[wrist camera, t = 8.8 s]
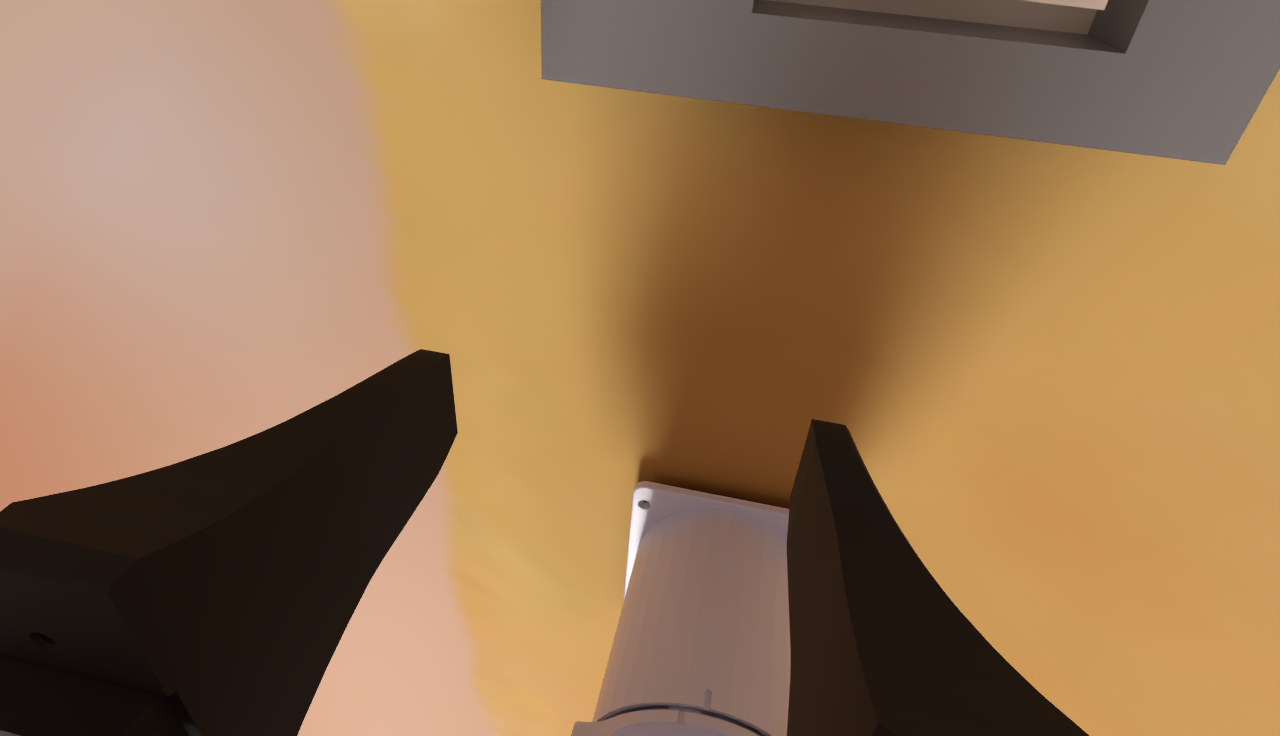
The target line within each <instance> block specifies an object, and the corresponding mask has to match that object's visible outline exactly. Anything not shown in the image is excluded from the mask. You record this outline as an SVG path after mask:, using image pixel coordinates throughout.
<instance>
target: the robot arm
mask: <svg viewBox="0 0 1280 736" xmlns="http://www.w3.org/2000/svg"><path fill="white" fill-rule="evenodd" d="M457 433H458V432H457V423H456V413H455V404H454V394H453V385H452V375H451V366H450V356H449V354H445V353H439V352H434V351H428V350H422V349H420V350H418V351H416V352H414V353H412V354H410V355H408V356H406V357H405V358H403V359H401V360H399V361H397V362H396V363H394V364H392V365H390V366H388V367H387V368H385V369H383V370H382V371H380V372H378V373H376V374H374V375H373V376H371V377H369V378H367V379H366V380H364V381H362V382H360V383H358V384H356V385H355V386H353V387H351V388H349V389H347V390H346V391H344V392H342V393H340V394H339V395H337V396H335V397H333V398H331V399H329V400H327V401H325V402H323V403H321V404H319V405H317V406H315V407H313V408H311V409H309V410H307V411H305V412H303V413H301V414H299V415H297V416H295V417H293V418H291V419H289V420H287V421H285V422H283V423H281V424H279V425H276V426H274V427H272V428H270V429H267V430H265V431H263V432H261V433H258V434H256V435H253V436H251V437H248V438H246V439H243V440H241V441H238V442H236V443H233V444H231V445H228V446H225V447H223V448H220V449H217V450H214V451H211V452H208V453H205V454H202V455H199V456H196V457H193V458H191V459H188V460H185V461H182V462H179V463H176V464H173V465H170V466H166V467H163V468H160V469H156V470H153V471H149V472H146V473H142V474H139V475H135V476H131V477H128V478H124V479H120V480H117V481H112V482H109V483H104V484H100V485H96V486H91V487H87V488H83V489H78V490H73V491H68V492H63V493H58V494H53V495H49V496H44V497H39V498H34V499H29V500H23V501H18V502H13V503H11V504H10V505H8V506H7V507H6V508H4V509H3V510H2V511H1V512H0V736H297V735H298V732H299V730H300V727H301V725H302V722H303V720H304V718H305V715H306V713H307V711H308V709H309V706H310V704H311V702H312V700H313V697H314V695H315V693H316V690H317V688H318V686H319V684H320V682H321V679H322V677H323V675H324V672H325V670H326V668H327V666H328V664H329V662H330V660H331V658H332V655H333V653H334V651H335V649H336V647H337V645H338V643H339V641H340V639H341V637H342V635H343V633H344V631H345V629H346V627H347V624H348V622H349V620H350V619H351V617H352V615H353V613H354V610H355V609H356V607H357V605H358V603H359V601H360V599H361V597H362V595H363V593H364V591H365V589H366V587H367V585H368V583H369V582H370V580H371V578H372V576H373V575H374V573H375V571H376V570H377V568H378V566H379V565H380V563H381V561H382V560H383V558H384V557H385V555H386V554H387V552H388V551H389V549H390V547H391V546H392V544H393V543H394V541H395V540H396V538H397V537H398V535H399V534H400V532H401V531H402V529H403V528H404V526H405V525H406V523H407V521H408V520H409V519H410V517H411V516H412V514H413V513H414V511H415V509H416V508H417V506H418V505H419V503H420V502H421V500H422V499H423V497H424V496H425V494H426V493H427V491H428V489H429V488H430V486H431V485H432V483H433V482H434V480H435V478H436V477H437V475H438V473H439V471H440V469H441V467H442V465H443V463H444V461H445V459H446V457H447V455H448V453H449V451H450V448H451V446H452V444H453V442H454V439H455V437H456V435H457ZM642 500H645V501H648V502H649V503H645V502H643V501H642ZM571 736H1089V735H1088V734H1087V733H1086V732H1084V731H1083V730H1082V729H1081V728H1080V727H1079V726H1077V725H1076V724H1075V723H1074V722H1073V721H1072V720H1070V719H1069V718H1068V717H1067V716H1066V715H1065V714H1063V713H1062V712H1061V711H1060V710H1059V709H1058V708H1056V707H1055V706H1054V705H1053V704H1052V703H1051V702H1049V701H1048V700H1047V699H1046V698H1045V697H1044V696H1043V695H1041V694H1040V693H1039V692H1038V691H1037V690H1036V689H1035V688H1034V687H1033V686H1032V685H1031V684H1030V683H1029V682H1028V681H1027V680H1026V679H1025V678H1024V677H1023V676H1021V675H1020V674H1019V673H1018V672H1017V671H1016V670H1015V669H1014V668H1013V667H1012V666H1011V665H1010V664H1009V663H1008V662H1007V661H1006V660H1005V659H1004V658H1003V657H1002V656H1001V655H1000V654H999V653H998V652H997V651H996V650H995V649H994V648H993V647H992V646H991V645H990V644H989V642H988V641H987V640H986V639H985V638H984V637H983V636H982V635H981V634H980V633H979V631H978V630H977V629H976V628H975V627H974V626H973V625H972V624H971V623H970V622H969V620H968V619H967V618H966V617H965V616H964V615H963V614H962V613H961V612H960V610H959V609H958V608H957V607H956V606H955V605H954V603H953V602H952V601H951V600H950V598H949V597H948V596H947V595H946V594H945V592H944V591H943V590H942V588H941V587H940V586H939V584H938V583H937V582H936V580H935V579H934V578H933V577H932V575H931V574H930V573H929V571H928V570H927V568H926V567H925V566H924V564H923V563H922V561H921V560H920V558H919V557H918V556H917V554H916V553H915V551H914V550H913V548H912V547H911V545H910V544H909V542H908V540H907V539H906V537H905V536H904V534H903V533H902V531H901V530H900V528H899V526H898V525H897V523H896V521H895V520H894V518H893V516H892V515H891V513H890V511H889V509H888V508H887V506H886V504H885V502H884V501H883V499H882V497H881V495H880V493H879V492H878V490H877V488H876V486H875V484H874V482H873V480H872V478H871V477H870V474H869V472H868V470H867V468H866V466H865V464H864V462H863V460H862V458H861V456H860V454H859V452H858V450H857V447H856V445H855V443H854V441H853V438H852V436H851V434H850V431H849V430H848V428H847V427H846V426H845V425H842V424H836V423H830V422H825V421H819V420H814V419H812V421H811V425H810V429H809V432H808V436H807V439H806V443H805V447H804V450H803V454H802V457H801V461H800V465H799V468H798V472H797V475H796V479H795V483H794V486H793V490H792V493H791V497H790V509H787V508H782V507H777V506H771V505H766V504H761V503H756V502H751V501H746V500H741V499H736V498H731V497H725V496H720V495H715V494H710V493H705V492H700V491H695V490H690V489H684V488H679V487H674V486H669V485H664V484H659V483H654V482H649V481H642V482H639V483H637V484H636V486H635V489H634V492H633V501H632V512H631V523H630V534H629V545H628V556H627V566H626V577H625V588H624V599H623V607H622V610H621V614H620V618H619V622H618V626H617V630H616V633H615V637H614V641H613V645H612V649H611V652H610V656H609V660H608V664H607V668H606V672H605V675H604V679H603V683H602V687H601V691H600V694H599V698H598V702H597V706H596V710H595V713H594V717H593V721H592V722H580V721H577V722H575V724H574V728H573V731H572V735H571Z"/></svg>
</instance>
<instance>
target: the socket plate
mask: <svg viewBox="0 0 1280 736" xmlns="http://www.w3.org/2000/svg"><path fill="white" fill-rule="evenodd" d="M541 52H542V79H545V80H553V81H561V82H569V83H577V84H585V85H593V86H601V87H609V88H617V89H625V90H632V91H640V92H648V93H656V94H664V95H672V96H680V97H688V98H696V99H704V100H712V101H720V102H728V103H736V104H744V105H752V106H760V107H768V108H776V109H784V110H792V111H800V112H808V113H816V114H824V115H832V116H839V117H847V118H855V119H863V120H871V121H879V122H887V123H895V124H903V125H911V126H919V127H927V128H935V129H943V130H951V131H959V132H967V133H975V134H983V135H991V136H999V137H1007V138H1015V139H1023V140H1031V141H1039V142H1046V143H1054V144H1062V145H1070V146H1078V147H1086V148H1094V149H1102V150H1110V151H1118V152H1126V153H1134V154H1142V155H1150V156H1158V157H1166V158H1174V159H1182V160H1190V161H1198V162H1206V163H1214V164H1222V165H1225V164H1226V162H1227V161H1228V159H1229V157H1230V155H1231V153H1232V152H1233V150H1234V148H1235V146H1236V145H1237V143H1238V141H1239V139H1240V138H1241V136H1242V134H1243V132H1244V131H1245V129H1246V127H1247V125H1248V123H1249V122H1250V120H1251V118H1252V116H1253V115H1254V113H1255V111H1256V109H1257V108H1258V106H1259V104H1260V102H1261V100H1262V99H1263V97H1264V95H1265V93H1266V92H1267V90H1268V88H1269V86H1270V85H1271V83H1272V81H1273V79H1274V78H1275V76H1276V74H1277V72H1278V70H1279V69H1280V0H1108V2H1107V5H1106V7H1105V10H1098V9H1089V8H1081V7H1073V6H1064V5H1056V4H1048V3H1039V2H1031V1H1023V0H541Z"/></svg>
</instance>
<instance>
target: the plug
mask: <svg viewBox="0 0 1280 736" xmlns="http://www.w3.org/2000/svg"><path fill="white" fill-rule="evenodd" d="M1023 1H1031V2H1039V3H1048V4H1056V5H1064V6H1073V7H1081V8H1089V9H1098V10H1105V7H1106V5H1107V2H1108V0H1023Z"/></svg>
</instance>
